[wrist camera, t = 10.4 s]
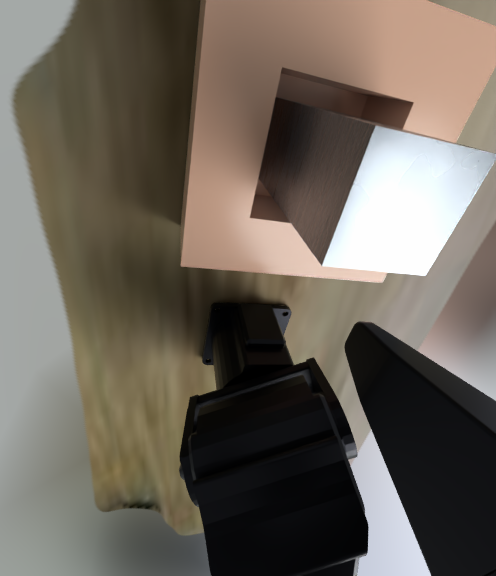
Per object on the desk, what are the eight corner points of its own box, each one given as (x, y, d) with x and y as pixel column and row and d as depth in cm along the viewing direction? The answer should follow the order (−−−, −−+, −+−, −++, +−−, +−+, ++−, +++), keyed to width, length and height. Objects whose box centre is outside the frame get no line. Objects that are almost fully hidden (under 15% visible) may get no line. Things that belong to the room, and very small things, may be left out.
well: (346, 245, 23) (382, 282, 19) (180, 226, 20) (180, 266, 16) (431, 41, 16) (513, 32, 12) (203, -35, 13) (213, -80, 9)
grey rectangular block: (320, 187, 19) (425, 275, 11) (257, 176, 18) (321, 266, 10) (344, 113, 17) (498, 154, 9) (274, 96, 16) (375, 125, 8)
